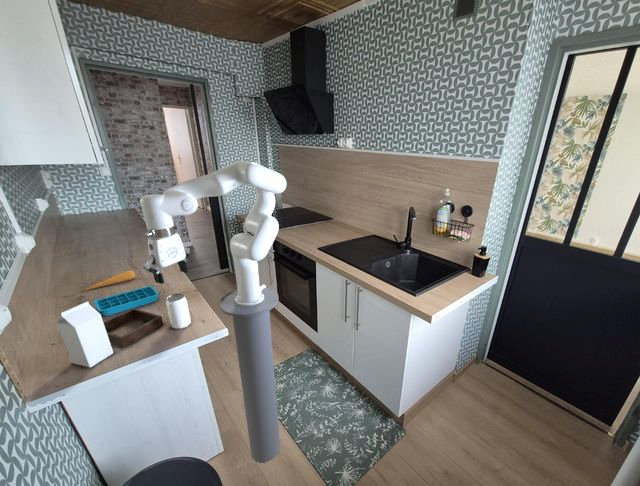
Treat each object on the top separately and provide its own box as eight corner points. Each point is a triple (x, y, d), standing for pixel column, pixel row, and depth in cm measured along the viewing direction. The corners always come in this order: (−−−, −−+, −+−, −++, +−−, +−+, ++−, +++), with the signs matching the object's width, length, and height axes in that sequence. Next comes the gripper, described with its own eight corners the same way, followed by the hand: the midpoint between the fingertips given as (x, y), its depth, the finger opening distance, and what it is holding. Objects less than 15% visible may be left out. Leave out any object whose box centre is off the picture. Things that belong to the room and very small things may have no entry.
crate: (135, 316, 115) (133, 307, 114) (163, 324, 111) (161, 316, 110) (93, 337, 102) (90, 328, 101) (123, 348, 98) (120, 338, 97)
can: (184, 318, 116) (178, 291, 111) (194, 322, 113) (189, 295, 109) (167, 326, 110) (161, 298, 106) (178, 331, 108) (172, 303, 103)
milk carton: (113, 353, 96) (97, 303, 89) (90, 368, 89) (70, 315, 82) (96, 349, 97) (78, 299, 90) (72, 363, 91) (51, 311, 83)
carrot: (136, 277, 146) (131, 269, 145) (137, 277, 143) (133, 268, 142) (84, 295, 132) (79, 286, 131) (85, 295, 129) (80, 286, 128)
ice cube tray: (161, 300, 127) (159, 294, 126) (101, 318, 113) (98, 311, 111) (152, 291, 134) (151, 285, 133) (94, 307, 119) (92, 300, 118)
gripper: (144, 241, 90) (157, 289, 96) (192, 226, 105) (200, 269, 111) (127, 237, 92) (141, 285, 98) (176, 224, 107) (185, 266, 113)
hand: (172, 277), depth 105 cm, fingers open, 9 cm apart
